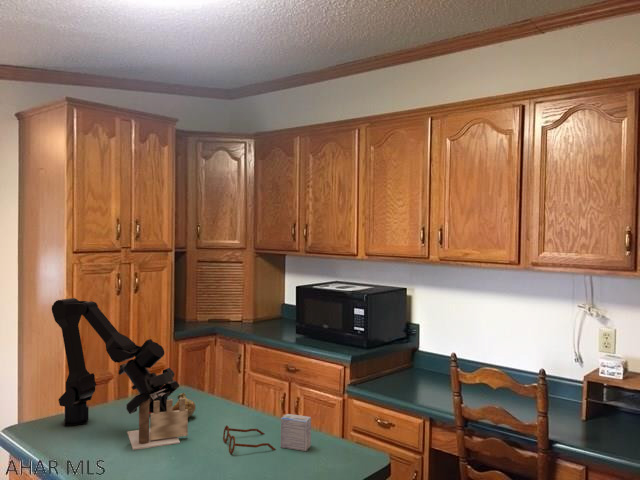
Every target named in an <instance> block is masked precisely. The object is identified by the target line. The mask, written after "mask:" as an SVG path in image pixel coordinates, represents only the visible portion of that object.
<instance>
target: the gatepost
mask: <svg viewBox="0 0 640 480" xmlns="http://www.w3.org/2000/svg"><path fill="white" fill-rule="evenodd" d="M149 404H150V400H148V401H145V402H143V403H141V404H140V405H139V406H138V409H139V410H138V430H139V443H140V444H146V443H148V442H149V429H150V415H149Z"/></svg>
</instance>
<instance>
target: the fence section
mask: <svg viewBox="0 0 640 480" xmlns="http://www.w3.org/2000/svg"><path fill="white" fill-rule="evenodd" d="M178 400H179V410H175V411H172V408H173V404H174V403H173V399H172V398H170V399H168V398H167V400H166V411H165V412H159V411H160V401H159V400H157V401H154V405H153V413H151V415H149V429H150V440H155V439H164V438H172V437H178V438H179V437H187V436H188V430H189V429H188V427H189V425H188V422H189V421H188V420H189V418H188V410H187V409H185V398H179V399H178Z"/></svg>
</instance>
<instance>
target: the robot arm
mask: <svg viewBox="0 0 640 480" xmlns="http://www.w3.org/2000/svg"><path fill="white" fill-rule="evenodd" d="M51 312H52V316H53V319H54V321H55V323H56V324H57V325H58V327H60V329H61V333H62V340H63V345H64V350H65V351H64V352H65V355H66V356H65V358H66V363H67V368H68V375H67V378H66V381H65V392H64V393H63V394H62V395H61V396H60V397H59V398H58V403H59V406H60V407H64V418H63V426H64V427H71V426H79V425H80V426H81V425H85V424H88V421H89V411H90V410H89V405H88V404H87V403H88V401H91V400H92V398H93V395H94V393H95V392H96V386H97V385H98V384H97V383H96V376H95V373H93V372H92V373H90V372H89V371H88V370H87V368H86V362H85V356H84V351H83V345H82V339H81V334H80V327H79V324H80V321H81V319H82V316H83V318H84V319H85V320H86V321H87V322H88V324H89V325H90V326H91V327H92V329H94V331H95V332H96V333H97V335H98V336H99V337H100V338H101V340H102V341H103V342H104V344H105V351H106V352H107V355H108V356H109V358H110V359H111V361H112V362H113V363H114V364H115V363H116V364H117V363H118V364H119V363H122V362H123V363H122V364H120V365H119V370H118V375H123V374H126V376H127V377H128V378H129V380H130V382H131V383H132V384H133V385H132V386H131V390H132V391H135V390H137V392H138V394H137V395H135V396H134V397H133V398H132V399H131V400H129V402H127V403H126V411H127V412H128V414H129V415H131V414H133V413H136V412H137V411H138V408H139V405H140V404H141V403H143V402H145V401H148V400H150V404H149V412H151V413H153V405H154V401H157V400H159V401H160V411H159V412H165V411H166V400H167V399H168V398H169V397H170V396H171V395H172V394H173V393H174V392H175V391H176V390H177V389H178V388H180V384H179V383H178V381H177V380H174V379H173V378H174V377H175V372H174V371H173V369H171V368H170V367H167V368H165V369H162V372H161V373H160V374H158V375H157V374H156V373H155V372H150V370H149V369H151V368H153V366H154V365H155V364H157V363H158V362H159V360H161V359H162V358H163V357H164V356H165V349H164V348H163V346H162V345H160V344H159V343H158V342H155V341H153V339H151V338H150V339H146V340H145V341H144V342H143V344H142V345H141V346H140V345H137V344H136V343H135V342H134V341H133V340H132V339H130V338H129V337H128V336H126V335H124V334H122V333H121V332H119V331H118V329H116V327H115V326H114V325H113V324H112V322H111V321H110V320H109V318H108V317H106V316H105V314H104V313H103V312H102V310H101V309H100V308H99V305H98V304H97V302H95V301H93V300H92V301H87V300H78V299H77V298H76V297H70V298H64V299H57V300H56V301H54V302H53V305H51ZM125 361H127V362H126V363H124V362H125ZM161 387H162V388H161ZM160 388H161V389H160Z"/></svg>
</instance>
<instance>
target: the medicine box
mask: <svg viewBox="0 0 640 480" xmlns="http://www.w3.org/2000/svg"><path fill="white" fill-rule="evenodd" d="M311 431H312V417H311V416H307V415H300V414H291V413H287V414H284V415H283V416H282V417H281V418H280V448H284V449H289V450H290V449H291V450H298V451H303V452H306V451H308V449H309V448H310V447H311V445H312V432H311Z"/></svg>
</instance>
